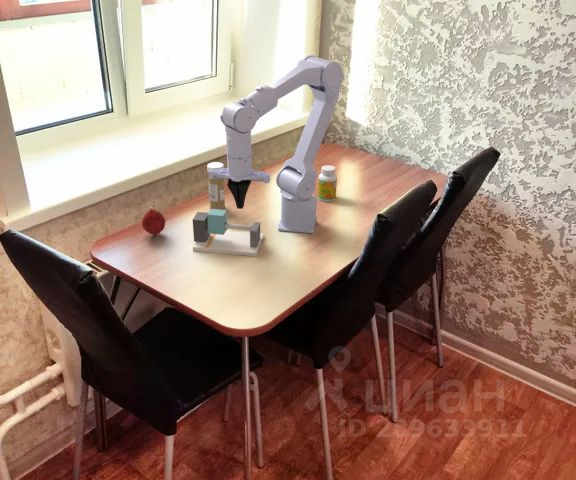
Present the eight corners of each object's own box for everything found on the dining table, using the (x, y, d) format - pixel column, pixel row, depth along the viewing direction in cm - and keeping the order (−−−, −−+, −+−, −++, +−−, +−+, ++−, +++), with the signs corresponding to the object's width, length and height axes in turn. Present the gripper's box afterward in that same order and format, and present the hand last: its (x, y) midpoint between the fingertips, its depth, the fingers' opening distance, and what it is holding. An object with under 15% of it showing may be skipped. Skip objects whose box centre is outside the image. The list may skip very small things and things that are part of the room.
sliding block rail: (263, 237, 150) (263, 212, 147) (256, 256, 141) (255, 230, 138) (202, 231, 152) (200, 206, 148) (191, 250, 143) (189, 224, 140)
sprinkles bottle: (228, 210, 164) (226, 165, 157) (213, 213, 161) (211, 168, 155) (220, 204, 167) (219, 160, 160) (206, 207, 165) (204, 163, 158)
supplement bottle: (315, 200, 170) (316, 169, 166) (320, 193, 175) (322, 163, 170) (332, 203, 169) (334, 172, 164) (337, 196, 173) (340, 166, 168)
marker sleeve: (227, 228, 147) (226, 210, 144) (224, 234, 144) (223, 215, 141) (211, 227, 147) (211, 208, 144) (208, 233, 144) (207, 214, 142)
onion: (170, 231, 152) (167, 204, 148) (159, 242, 147) (156, 213, 143) (150, 228, 153) (148, 200, 149) (139, 238, 148) (135, 210, 144)
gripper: (204, 158, 133) (207, 211, 139) (266, 163, 131) (266, 216, 137) (212, 148, 139) (214, 199, 145) (271, 152, 137) (271, 203, 144)
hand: (240, 206), depth 142 cm, fingers closed
